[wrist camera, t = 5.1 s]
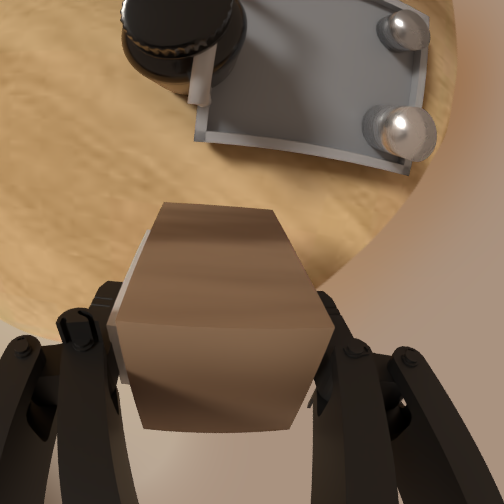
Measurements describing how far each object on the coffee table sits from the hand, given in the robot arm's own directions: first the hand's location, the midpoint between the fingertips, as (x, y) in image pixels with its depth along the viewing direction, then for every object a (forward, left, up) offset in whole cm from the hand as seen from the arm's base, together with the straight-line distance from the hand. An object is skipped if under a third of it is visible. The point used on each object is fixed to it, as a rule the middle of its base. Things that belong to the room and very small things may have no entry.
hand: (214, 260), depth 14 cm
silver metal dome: (-17, +13, -10) cm, 24 cm away
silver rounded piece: (-8, +13, -10) cm, 18 cm away
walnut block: (0, 0, 0) cm, 0 cm away
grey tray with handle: (-13, +7, -12) cm, 19 cm away
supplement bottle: (-12, -3, -12) cm, 17 cm away
